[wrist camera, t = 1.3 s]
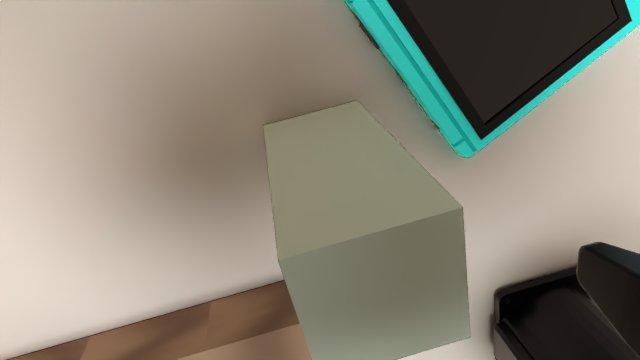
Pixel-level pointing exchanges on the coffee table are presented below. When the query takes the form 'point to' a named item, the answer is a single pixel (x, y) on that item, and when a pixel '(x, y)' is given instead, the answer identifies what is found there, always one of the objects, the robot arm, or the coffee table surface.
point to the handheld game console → (490, 54)
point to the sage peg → (364, 238)
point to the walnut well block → (201, 333)
